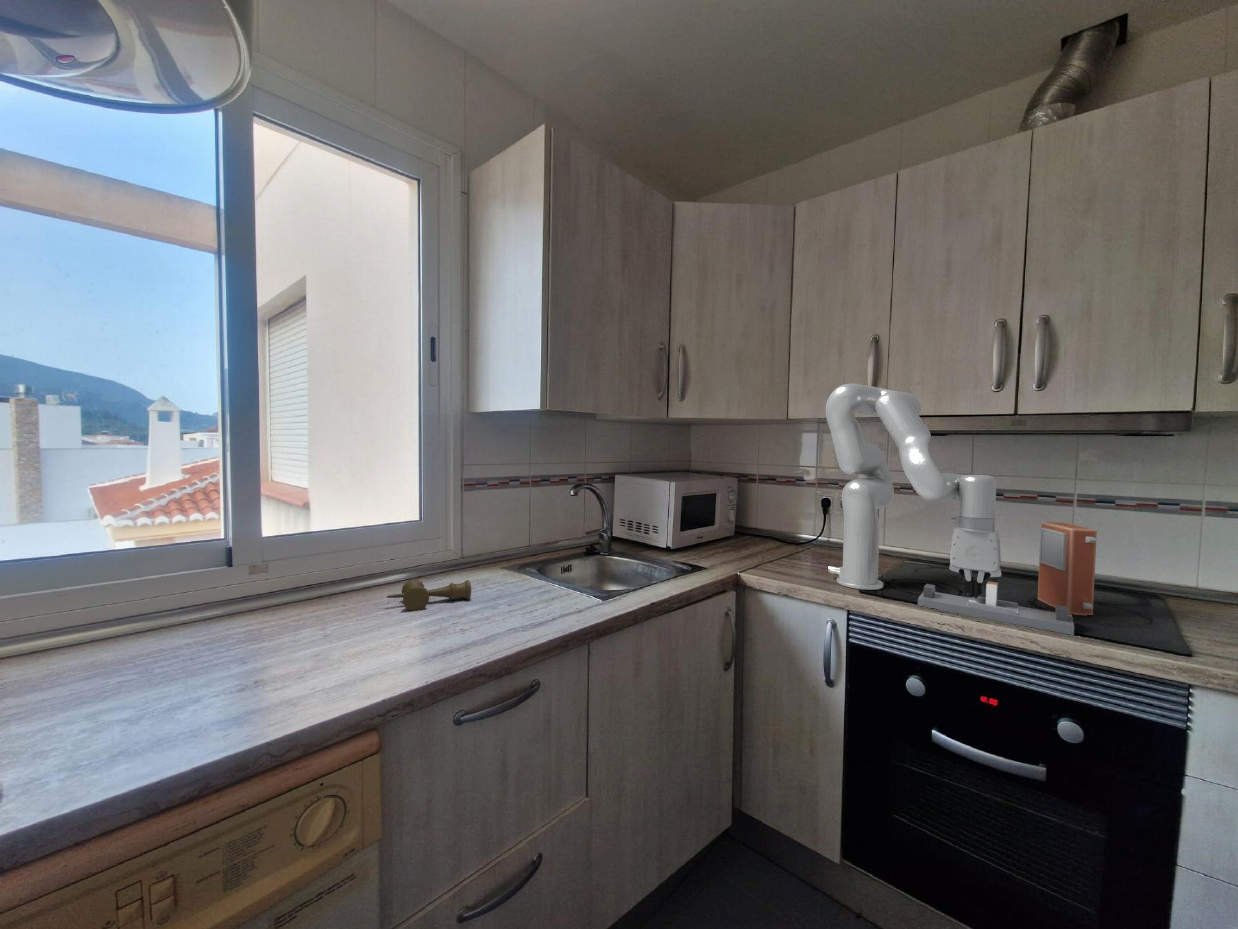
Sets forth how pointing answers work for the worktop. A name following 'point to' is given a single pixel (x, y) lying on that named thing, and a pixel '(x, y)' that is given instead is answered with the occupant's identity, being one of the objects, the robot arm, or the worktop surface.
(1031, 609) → the strip
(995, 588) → the breaker handle
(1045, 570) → the orange rectangular block
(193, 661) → the worktop surface
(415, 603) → the kendama
